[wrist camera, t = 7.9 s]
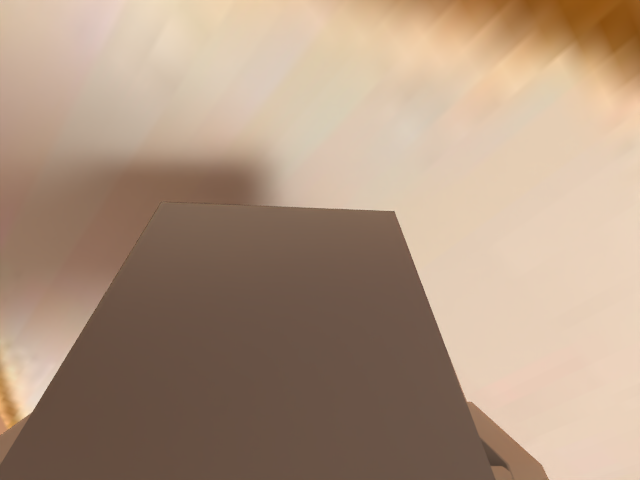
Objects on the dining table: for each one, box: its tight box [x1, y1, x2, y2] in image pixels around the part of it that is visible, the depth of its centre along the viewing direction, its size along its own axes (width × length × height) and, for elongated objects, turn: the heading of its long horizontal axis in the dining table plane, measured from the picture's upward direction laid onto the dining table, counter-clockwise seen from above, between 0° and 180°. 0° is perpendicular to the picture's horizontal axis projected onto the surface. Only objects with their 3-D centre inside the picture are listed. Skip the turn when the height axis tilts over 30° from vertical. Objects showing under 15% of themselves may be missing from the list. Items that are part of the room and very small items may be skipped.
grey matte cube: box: [0, 202, 496, 480], centre depth 11 cm, size 7×7×9 cm
